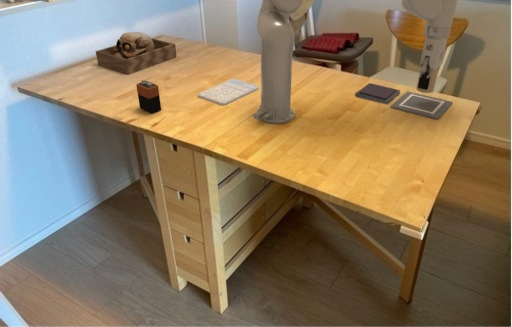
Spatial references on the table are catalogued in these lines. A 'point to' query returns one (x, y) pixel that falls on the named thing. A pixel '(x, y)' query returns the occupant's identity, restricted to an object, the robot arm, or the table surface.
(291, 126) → the table surface
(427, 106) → the marked board
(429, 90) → the candle
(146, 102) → the battery
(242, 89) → the calculator
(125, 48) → the brown skull
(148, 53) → the wooden tray
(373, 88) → the ink pad
